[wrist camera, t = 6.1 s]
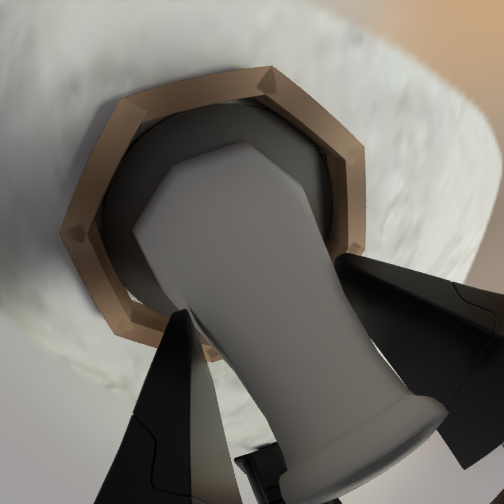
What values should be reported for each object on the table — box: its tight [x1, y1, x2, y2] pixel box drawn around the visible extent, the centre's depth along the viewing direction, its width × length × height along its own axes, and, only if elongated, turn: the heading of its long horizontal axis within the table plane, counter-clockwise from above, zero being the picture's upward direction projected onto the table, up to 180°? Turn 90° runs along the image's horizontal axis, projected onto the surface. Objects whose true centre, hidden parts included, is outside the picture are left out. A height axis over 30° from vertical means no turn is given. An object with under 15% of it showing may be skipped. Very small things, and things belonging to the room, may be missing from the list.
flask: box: [132, 140, 449, 504], centre depth 8 cm, size 7×7×10 cm
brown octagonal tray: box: [60, 66, 366, 362], centre depth 11 cm, size 12×12×2 cm
